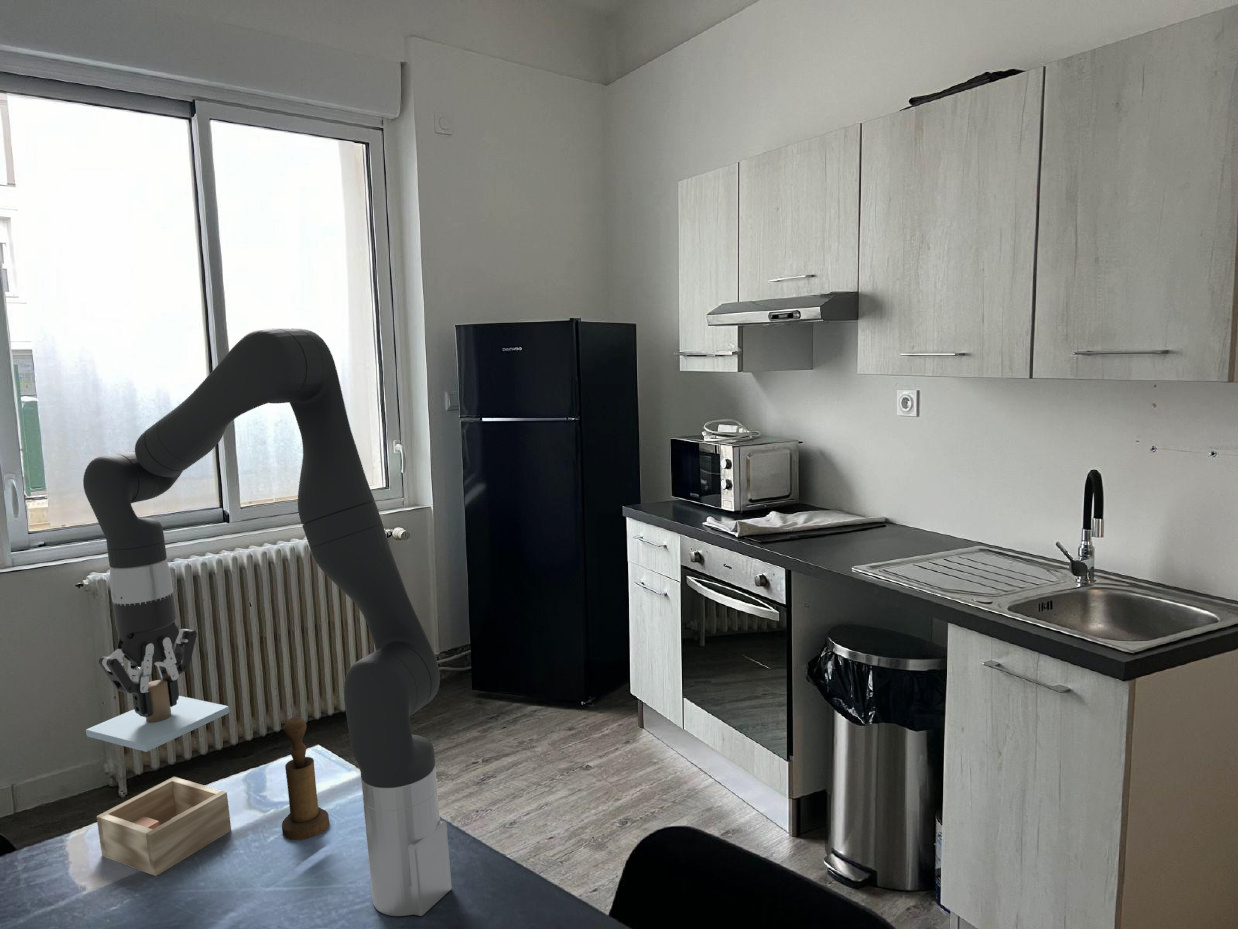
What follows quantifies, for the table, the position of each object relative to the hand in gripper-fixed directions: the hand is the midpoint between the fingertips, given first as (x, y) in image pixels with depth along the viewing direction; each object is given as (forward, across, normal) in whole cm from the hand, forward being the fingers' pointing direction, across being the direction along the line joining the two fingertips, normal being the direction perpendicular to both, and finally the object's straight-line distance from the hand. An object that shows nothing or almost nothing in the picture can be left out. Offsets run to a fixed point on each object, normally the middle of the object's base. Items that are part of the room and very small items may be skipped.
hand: (158, 709), depth 122 cm
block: (+20, -3, +3) cm, 20 cm away
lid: (+2, 0, 0) cm, 2 cm away
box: (+21, -1, 0) cm, 21 cm away
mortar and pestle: (+21, +10, -16) cm, 28 cm away
